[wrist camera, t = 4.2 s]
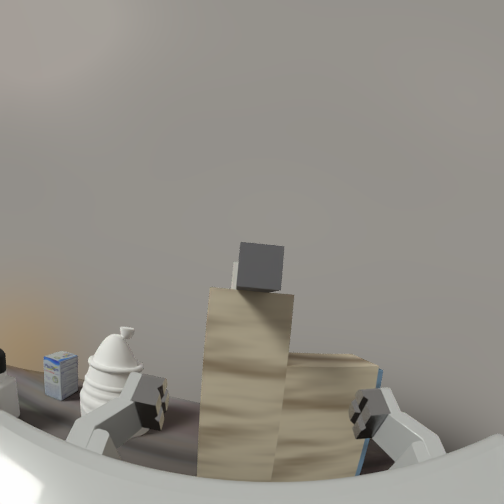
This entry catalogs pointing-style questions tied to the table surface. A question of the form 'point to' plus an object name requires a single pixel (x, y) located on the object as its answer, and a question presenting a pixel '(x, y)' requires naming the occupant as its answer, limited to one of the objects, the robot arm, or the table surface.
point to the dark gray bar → (258, 268)
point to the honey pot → (109, 372)
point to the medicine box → (61, 374)
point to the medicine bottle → (8, 390)
